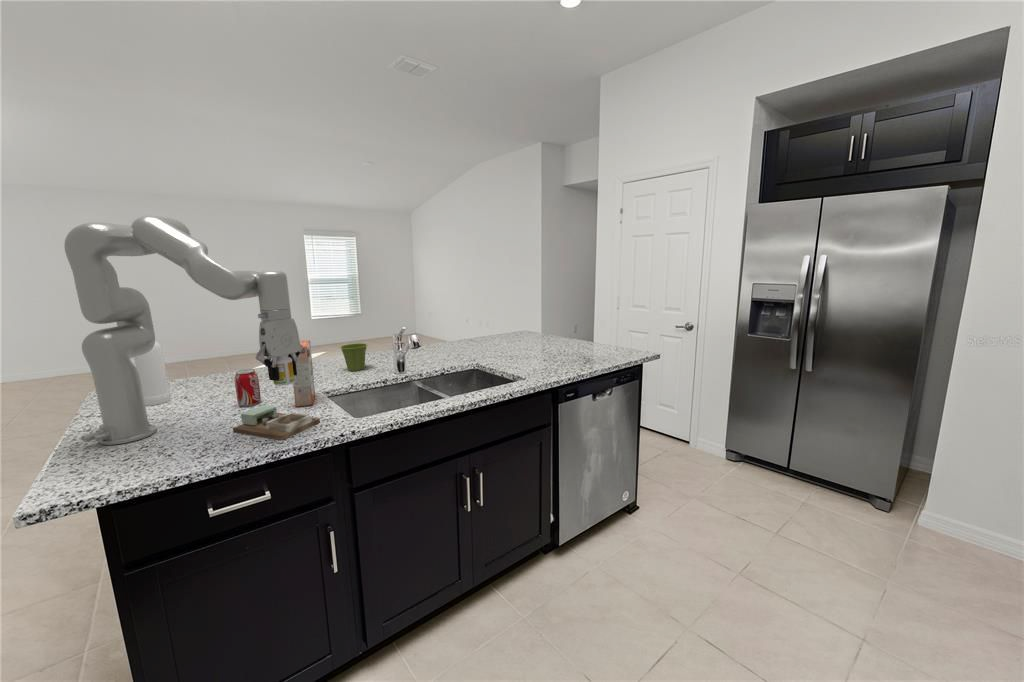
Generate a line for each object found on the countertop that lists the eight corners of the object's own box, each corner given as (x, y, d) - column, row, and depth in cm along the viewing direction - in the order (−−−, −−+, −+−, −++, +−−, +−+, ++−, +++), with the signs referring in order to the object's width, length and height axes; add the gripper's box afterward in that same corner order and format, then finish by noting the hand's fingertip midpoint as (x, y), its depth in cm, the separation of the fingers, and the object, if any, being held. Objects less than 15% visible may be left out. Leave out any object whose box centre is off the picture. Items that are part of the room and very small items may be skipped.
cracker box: (314, 405, 147) (307, 346, 143) (295, 407, 145) (288, 347, 141) (316, 394, 160) (310, 339, 156) (298, 396, 158) (292, 340, 154)
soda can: (250, 408, 146) (245, 374, 144) (233, 406, 147) (228, 373, 145) (266, 401, 153) (261, 368, 150) (249, 400, 154) (244, 368, 152)
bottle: (136, 405, 151) (120, 321, 145) (159, 398, 158) (145, 318, 153) (154, 406, 149) (138, 321, 143) (176, 399, 157) (162, 318, 151)
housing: (254, 425, 126) (252, 415, 125) (242, 423, 128) (240, 413, 127) (277, 416, 133) (276, 406, 133) (265, 414, 135) (264, 405, 134)
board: (281, 440, 119) (280, 429, 118) (233, 431, 125) (231, 421, 125) (320, 422, 131) (318, 412, 131) (274, 415, 138) (273, 406, 137)
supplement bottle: (289, 379, 128) (286, 348, 126) (298, 382, 124) (294, 350, 122) (270, 384, 124) (266, 351, 122) (278, 387, 120) (274, 353, 118)
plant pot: (363, 365, 204) (361, 342, 202) (373, 369, 195) (371, 345, 193) (338, 369, 197) (336, 345, 194) (347, 374, 188) (345, 349, 185)
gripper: (258, 320, 111) (267, 386, 114) (310, 312, 127) (316, 371, 130) (238, 319, 114) (247, 384, 117) (291, 311, 129) (297, 369, 133)
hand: (283, 376), depth 124 cm, fingers closed on supplement bottle, 5 cm apart
